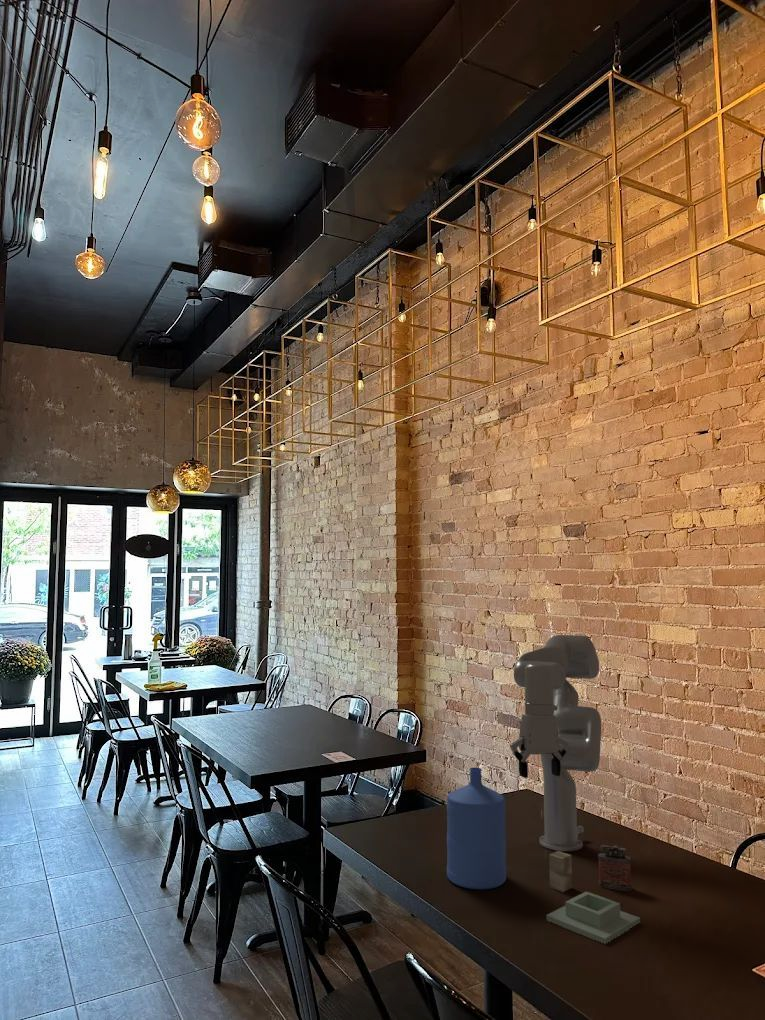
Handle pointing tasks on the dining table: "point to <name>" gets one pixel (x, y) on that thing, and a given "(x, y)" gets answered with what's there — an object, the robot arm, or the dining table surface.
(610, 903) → the slot holder
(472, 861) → the water jug
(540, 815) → the dining table surface
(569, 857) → the birch peg
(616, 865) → the lighter
